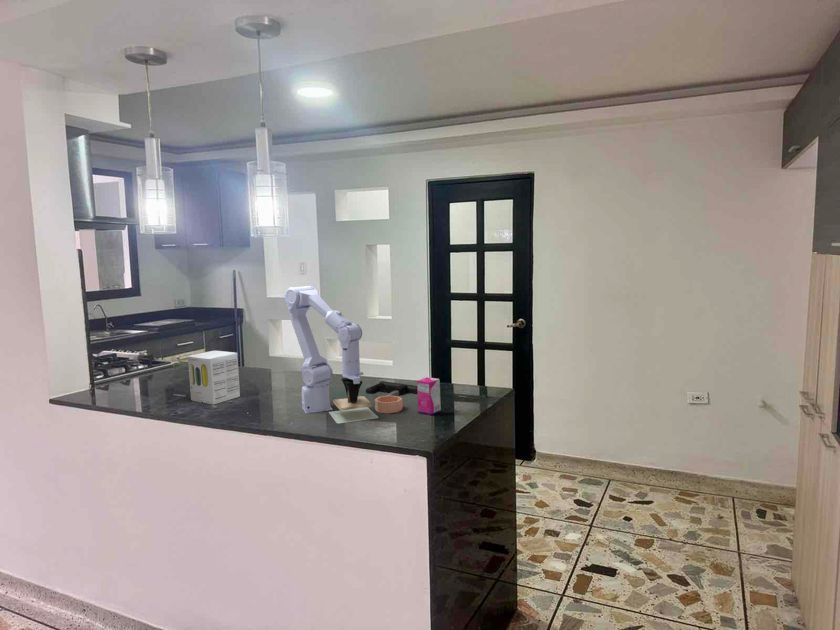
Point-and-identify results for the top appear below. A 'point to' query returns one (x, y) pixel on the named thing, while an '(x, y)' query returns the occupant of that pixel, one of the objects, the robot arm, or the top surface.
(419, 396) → the supplement box
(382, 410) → the bowl
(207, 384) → the supplement box
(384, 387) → the door handle
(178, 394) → the top surface
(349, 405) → the lid
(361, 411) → the mat
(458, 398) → the top surface
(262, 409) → the top surface
